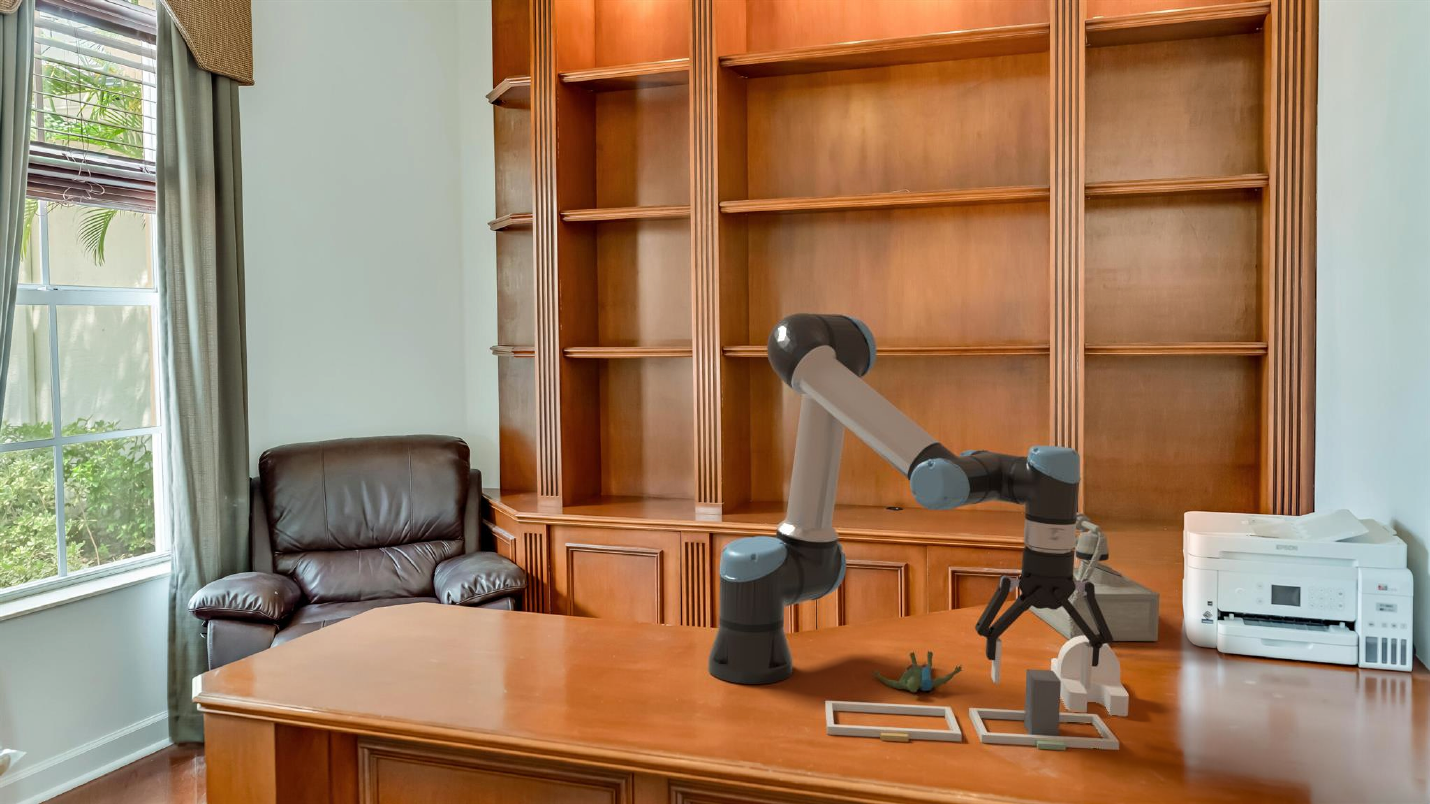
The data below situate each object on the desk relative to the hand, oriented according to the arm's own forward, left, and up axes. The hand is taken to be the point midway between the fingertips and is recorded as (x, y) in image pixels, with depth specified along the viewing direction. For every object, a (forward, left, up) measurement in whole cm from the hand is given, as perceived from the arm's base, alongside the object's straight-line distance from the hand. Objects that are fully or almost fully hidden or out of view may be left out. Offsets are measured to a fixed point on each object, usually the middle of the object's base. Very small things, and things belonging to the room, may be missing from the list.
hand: (1040, 683), depth 154 cm
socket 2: (0, 0, -8) cm, 8 cm away
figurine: (-16, +20, -8) cm, 27 cm away
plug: (0, 0, -8) cm, 8 cm away
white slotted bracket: (+12, +18, -8) cm, 23 cm away
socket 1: (-23, 0, -8) cm, 24 cm away
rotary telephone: (+24, +59, -8) cm, 65 cm away
